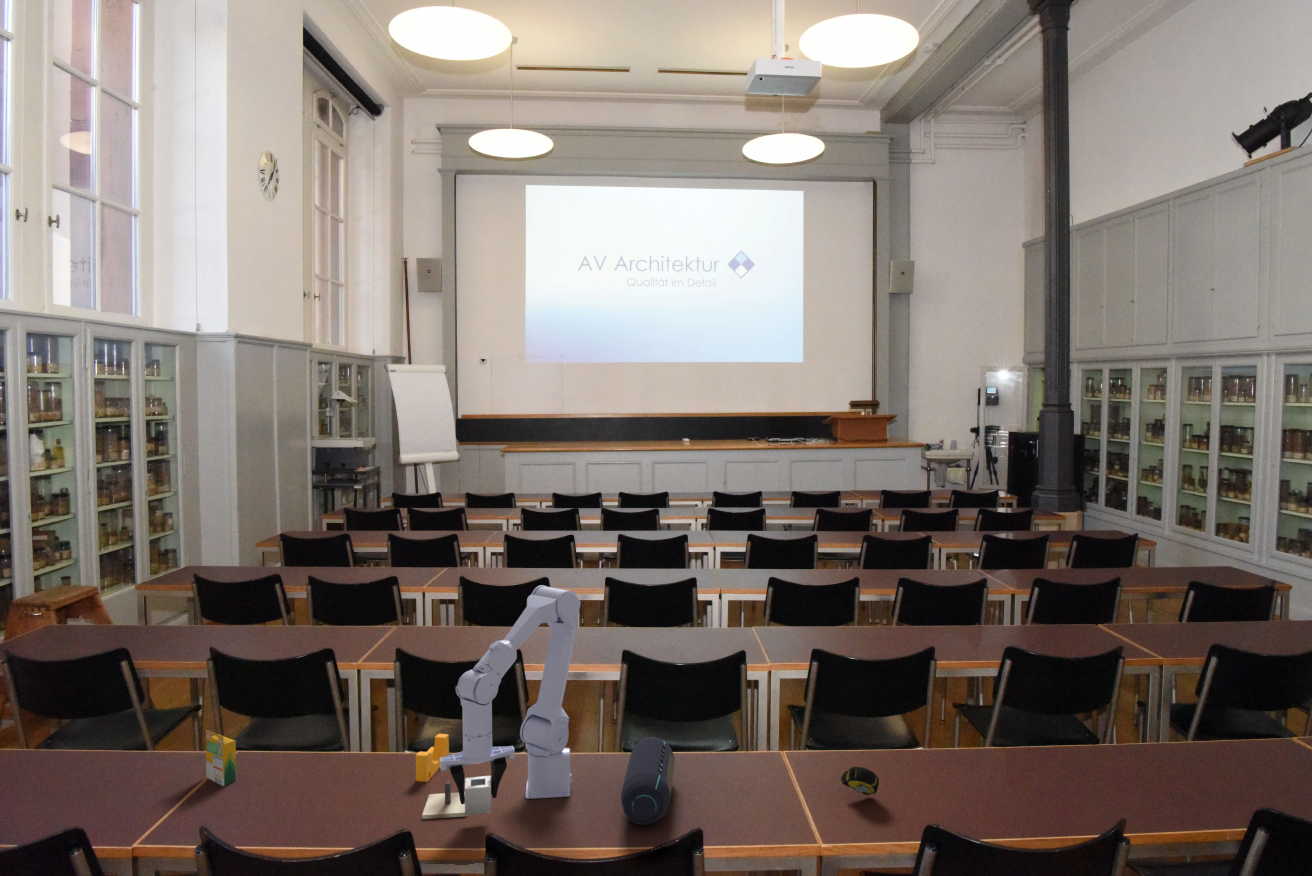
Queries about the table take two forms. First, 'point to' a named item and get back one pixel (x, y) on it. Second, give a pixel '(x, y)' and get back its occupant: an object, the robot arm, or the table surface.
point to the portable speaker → (648, 781)
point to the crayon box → (220, 758)
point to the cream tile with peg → (444, 805)
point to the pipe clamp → (431, 758)
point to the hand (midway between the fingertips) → (478, 798)
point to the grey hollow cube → (477, 795)
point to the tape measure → (861, 780)
